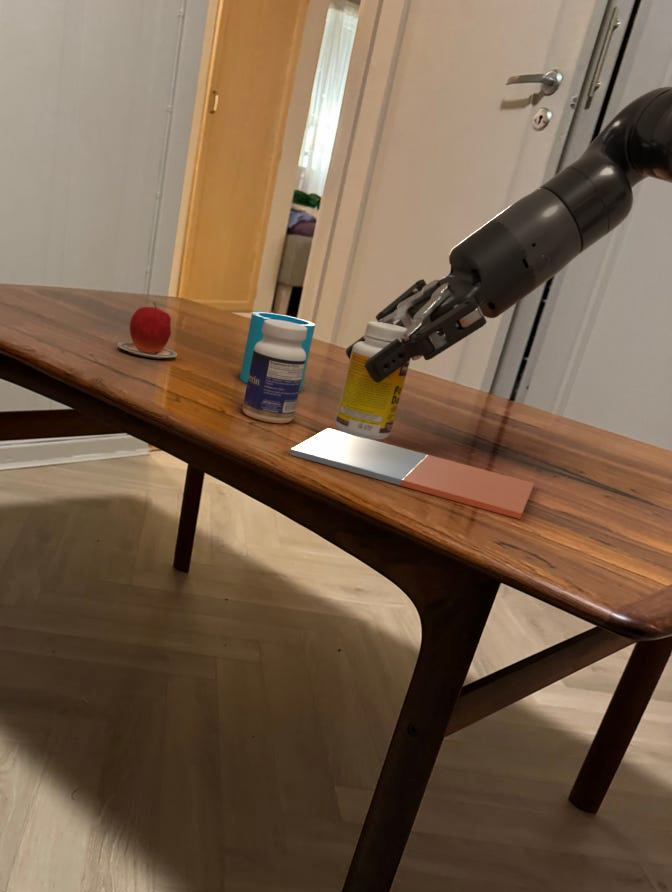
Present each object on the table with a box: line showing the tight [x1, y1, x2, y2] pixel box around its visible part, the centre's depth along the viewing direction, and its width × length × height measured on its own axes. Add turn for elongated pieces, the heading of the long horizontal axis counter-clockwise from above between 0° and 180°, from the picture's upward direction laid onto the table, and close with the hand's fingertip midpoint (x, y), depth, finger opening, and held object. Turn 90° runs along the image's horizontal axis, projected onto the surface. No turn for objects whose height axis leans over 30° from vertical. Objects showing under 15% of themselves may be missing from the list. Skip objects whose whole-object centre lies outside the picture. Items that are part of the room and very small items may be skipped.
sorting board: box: [289, 427, 535, 520], centre depth 89 cm, size 22×13×1 cm, turn 66°
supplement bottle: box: [334, 321, 411, 440], centre depth 87 cm, size 6×6×10 cm
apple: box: [117, 301, 178, 360], centre depth 121 cm, size 8×8×6 cm
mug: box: [239, 311, 316, 392], centre depth 117 cm, size 12×8×8 cm
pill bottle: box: [242, 319, 307, 424], centre depth 97 cm, size 6×6×10 cm
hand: (360, 366), depth 86 cm, fingers closed on supplement bottle, 5 cm apart
